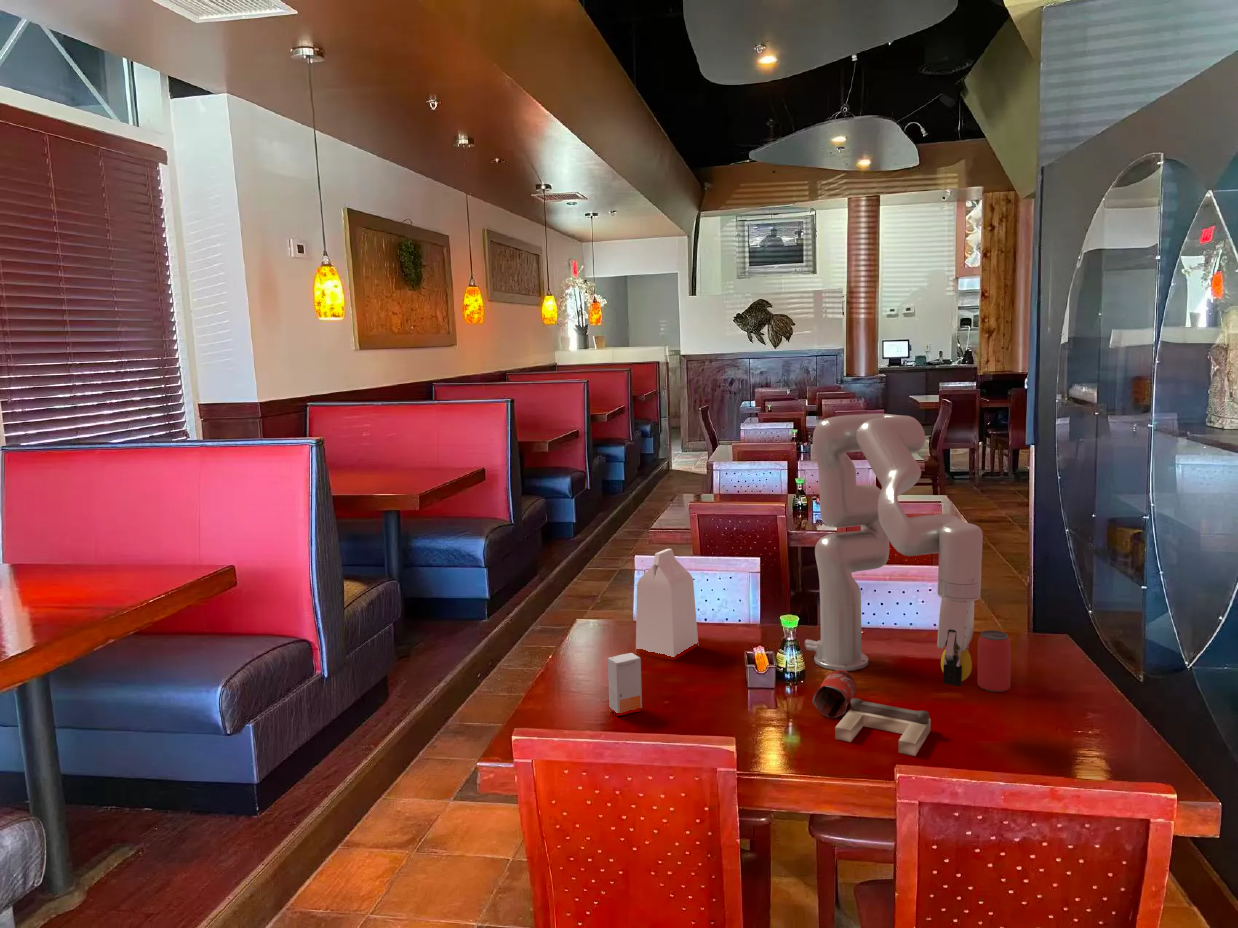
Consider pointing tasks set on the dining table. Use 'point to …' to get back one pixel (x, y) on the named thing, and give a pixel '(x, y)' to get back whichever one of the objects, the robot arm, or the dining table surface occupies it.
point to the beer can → (994, 661)
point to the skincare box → (624, 682)
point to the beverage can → (835, 692)
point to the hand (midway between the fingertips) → (955, 677)
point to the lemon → (965, 662)
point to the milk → (666, 607)
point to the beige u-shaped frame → (886, 723)
